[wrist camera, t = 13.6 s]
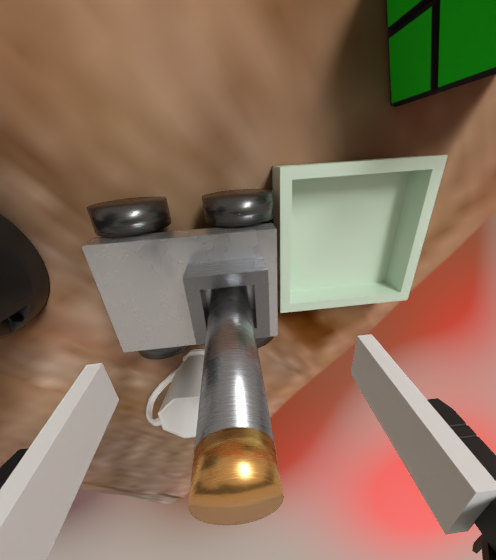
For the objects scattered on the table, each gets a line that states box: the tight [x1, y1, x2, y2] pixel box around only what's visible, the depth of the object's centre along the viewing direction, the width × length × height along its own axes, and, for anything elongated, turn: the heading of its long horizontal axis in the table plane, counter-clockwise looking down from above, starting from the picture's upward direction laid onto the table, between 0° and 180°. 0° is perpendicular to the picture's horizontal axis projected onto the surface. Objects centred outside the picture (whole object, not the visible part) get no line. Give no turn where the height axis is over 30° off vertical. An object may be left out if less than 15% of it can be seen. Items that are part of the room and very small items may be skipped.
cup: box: [146, 349, 205, 438], centre depth 28 cm, size 7×10×8 cm
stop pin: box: [188, 285, 284, 525], centre depth 14 cm, size 3×3×14 cm
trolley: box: [82, 189, 278, 359], centre depth 21 cm, size 15×14×10 cm
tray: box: [272, 155, 448, 313], centre depth 24 cm, size 14×14×4 cm
